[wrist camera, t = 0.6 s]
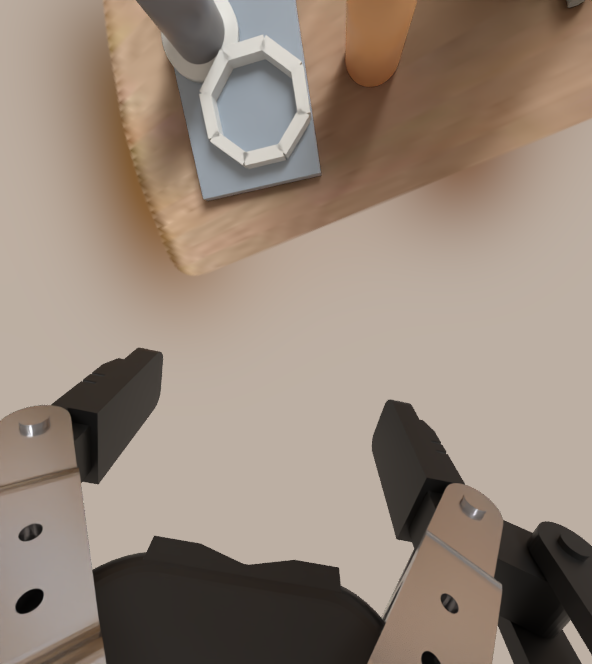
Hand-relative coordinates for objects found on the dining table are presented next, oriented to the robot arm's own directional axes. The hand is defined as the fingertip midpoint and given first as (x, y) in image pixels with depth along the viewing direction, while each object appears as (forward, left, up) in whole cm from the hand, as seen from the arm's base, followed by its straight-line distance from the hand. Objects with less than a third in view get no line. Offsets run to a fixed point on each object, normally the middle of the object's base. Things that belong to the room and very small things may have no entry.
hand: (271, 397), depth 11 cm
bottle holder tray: (-20, -3, -21) cm, 29 cm away
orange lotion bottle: (-20, +8, -21) cm, 30 cm away
